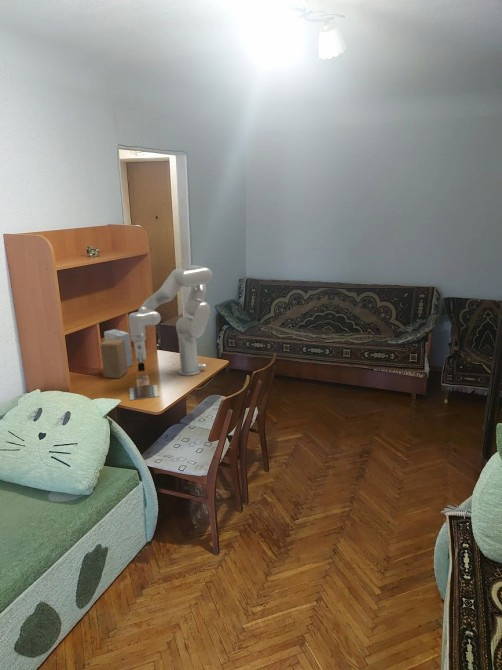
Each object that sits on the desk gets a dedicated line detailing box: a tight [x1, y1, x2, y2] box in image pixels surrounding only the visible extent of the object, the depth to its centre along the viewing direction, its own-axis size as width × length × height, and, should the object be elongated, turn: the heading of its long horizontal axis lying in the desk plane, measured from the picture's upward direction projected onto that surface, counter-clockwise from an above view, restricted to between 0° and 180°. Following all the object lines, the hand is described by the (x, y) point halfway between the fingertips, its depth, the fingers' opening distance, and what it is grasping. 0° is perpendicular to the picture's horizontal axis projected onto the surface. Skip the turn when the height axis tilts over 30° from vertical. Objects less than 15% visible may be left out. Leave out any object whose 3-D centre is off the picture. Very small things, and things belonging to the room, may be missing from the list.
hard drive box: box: [103, 328, 133, 368], centre depth 268 cm, size 16×8×20 cm, turn 49°
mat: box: [129, 384, 160, 401], centre depth 232 cm, size 14×14×1 cm
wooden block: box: [99, 339, 129, 379], centre depth 253 cm, size 10×10×20 cm
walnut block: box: [135, 374, 151, 398], centre depth 232 cm, size 6×6×14 cm
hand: (141, 370), depth 237 cm, fingers closed
